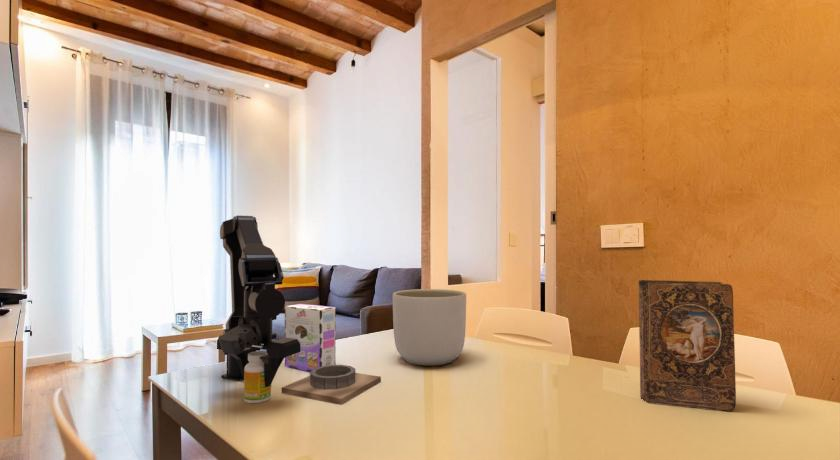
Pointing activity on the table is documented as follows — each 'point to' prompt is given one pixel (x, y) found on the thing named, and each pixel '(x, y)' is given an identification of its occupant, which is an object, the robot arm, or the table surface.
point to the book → (687, 344)
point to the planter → (429, 325)
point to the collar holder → (332, 384)
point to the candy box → (311, 335)
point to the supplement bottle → (255, 379)
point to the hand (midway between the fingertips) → (257, 384)
